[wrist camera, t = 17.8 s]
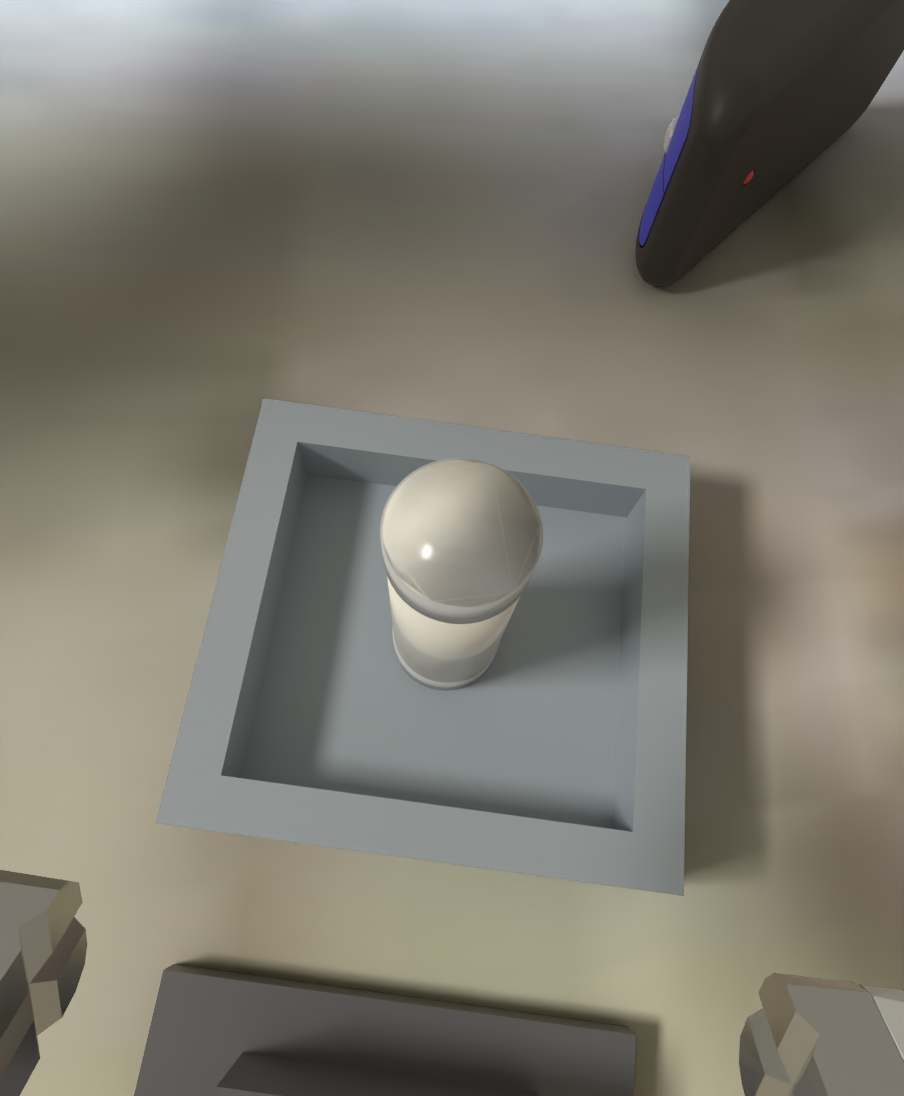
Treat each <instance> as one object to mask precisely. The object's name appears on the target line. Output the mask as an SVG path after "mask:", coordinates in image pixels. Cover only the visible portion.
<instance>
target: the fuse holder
mask: <svg viewBox="0 0 904 1096" xmlns="http://www.w3.org/2000/svg"><path fill="white" fill-rule="evenodd" d="M635 1046H636V1035H635V1034H634V1033H633V1032H632V1031H631V1030H630V1029H629V1028H628V1027H627V1026H620V1025H613V1024H605V1023H598V1022H591V1021H584V1020H576V1019H569V1018H562V1017H555V1016H547V1015H540V1014H533V1013H526V1012H518V1011H511V1010H504V1009H497V1008H489V1007H482V1006H475V1005H467V1004H460V1003H453V1002H446V1001H438V1000H431V999H424V998H417V997H409V996H402V995H395V994H388V993H380V992H373V991H366V990H359V989H351V988H344V987H337V986H330V985H322V984H315V983H308V982H301V981H293V980H286V979H279V978H272V977H264V976H257V975H250V974H242V973H235V972H228V971H221V970H213V969H206V968H199V967H192V966H184V965H177V964H173V965H171V966H170V967H168V968H166V969H164V971H163V975H162V979H161V983H160V988H159V992H158V996H157V1000H156V1005H155V1009H154V1013H153V1017H152V1022H151V1026H150V1030H149V1034H148V1039H147V1043H146V1047H145V1051H144V1056H143V1060H142V1064H141V1069H140V1073H139V1077H138V1081H137V1086H136V1090H135V1094H134V1096H634V1075H635Z"/></svg>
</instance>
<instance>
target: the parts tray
mask: <svg viewBox="0 0 904 1096" xmlns="http://www.w3.org/2000/svg"><path fill="white" fill-rule="evenodd" d="M449 458H471V459H477V460H482V461H485V462H488V463H491V464H493V465H496V466H498V467H500V468H502V469H504V470H505V471H507V472H508V473H510V474H511V475H513V476H514V477H515V478H516V479H518V480H519V481H520V482H521V483H522V484H523V485H524V486H525V488H526V489H527V490H528V492H529V493H530V494H531V496H532V498H533V499H534V501H535V503H536V505H537V507H538V510H539V512H540V516H541V520H542V525H543V546H542V552H541V555H540V558H539V561H538V563H537V566H536V568H535V570H534V572H533V574H532V576H531V579H530V581H529V583H528V585H527V587H526V589H525V590H524V592H523V593H522V595H521V596H520V598H519V600H518V602H517V604H516V607H515V609H514V611H513V613H512V616H511V618H510V620H509V622H508V624H507V627H506V629H505V631H504V633H503V636H502V638H501V640H500V644H499V647H498V650H497V653H496V655H495V657H494V659H493V661H492V663H491V665H490V667H489V668H488V670H487V671H486V672H485V673H484V674H483V676H481V677H480V678H479V679H478V680H477V681H475V682H474V683H472V684H470V685H468V686H466V687H463V688H461V689H456V690H449V691H443V690H435V689H431V688H428V687H425V686H423V685H421V684H419V683H418V682H416V681H415V680H413V679H412V678H411V677H410V676H409V675H408V674H407V673H406V672H405V671H404V670H403V668H402V667H401V665H400V663H399V661H398V659H397V657H396V654H395V650H394V644H393V635H392V627H393V623H392V614H391V606H390V597H389V588H388V580H387V574H386V571H385V568H384V562H383V556H382V548H381V540H380V526H381V518H382V514H383V510H384V508H385V505H386V503H387V501H388V499H389V497H390V495H391V494H392V492H393V491H394V489H395V488H396V487H397V486H398V484H399V483H400V482H401V481H402V480H403V479H404V478H405V477H407V476H408V475H409V474H411V473H412V472H413V471H415V470H417V469H419V468H420V467H422V466H424V465H427V464H429V463H432V462H435V461H439V460H443V459H449ZM689 517H690V456H686V455H679V454H671V453H664V452H657V451H649V450H642V449H634V448H627V447H620V446H612V445H605V444H598V443H590V442H583V441H576V440H568V439H561V438H553V437H546V436H539V435H531V434H524V433H517V432H509V431H502V430H495V429H487V428H480V427H472V426H465V425H458V424H450V423H443V422H436V421H428V420H421V419H413V418H406V417H399V416H391V415H384V414H377V413H369V412H362V411H355V410H347V409H340V408H332V407H325V406H318V405H310V404H303V403H296V402H288V401H281V400H274V399H266V398H263V402H262V405H261V409H260V413H259V417H258V421H257V425H256V429H255V433H254V437H253V441H252V445H251V449H250V453H249V457H248V461H247V465H246V468H245V472H244V476H243V480H242V484H241V488H240V492H239V496H238V500H237V504H236V508H235V512H234V516H233V520H232V524H231V528H230V531H229V535H228V539H227V543H226V547H225V551H224V555H223V559H222V563H221V567H220V571H219V575H218V579H217V583H216V587H215V591H214V595H213V598H212V602H211V606H210V610H209V614H208V618H207V622H206V626H205V630H204V634H203V638H202V642H201V646H200V650H199V654H198V658H197V661H196V665H195V669H194V673H193V677H192V681H191V685H190V689H189V693H188V697H187V701H186V705H185V709H184V713H183V717H182V721H181V725H180V728H179V732H178V736H177V740H176V744H175V748H174V752H173V756H172V760H171V764H170V768H169V772H168V776H167V780H166V784H165V788H164V791H163V795H162V799H161V803H160V807H159V811H158V815H157V819H156V823H157V824H164V825H171V826H178V827H186V828H193V829H200V830H208V831H215V832H222V833H229V834H237V835H244V836H251V837H259V838H266V839H273V840H280V841H288V842H295V843H302V844H310V845H317V846H324V847H331V848H339V849H346V850H353V851H361V852H368V853H375V854H382V855H390V856H397V857H404V858H412V859H419V860H426V861H433V862H441V863H448V864H455V865H463V866H470V867H477V868H484V869H492V870H499V871H506V872H514V873H521V874H528V875H535V876H543V877H550V878H557V879H565V880H572V881H579V882H586V883H594V884H601V885H608V886H616V887H623V888H630V889H637V890H645V891H652V892H659V893H667V894H674V895H681V896H684V847H685V781H686V715H687V649H688V583H689Z"/></svg>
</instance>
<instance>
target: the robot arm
mask: <svg viewBox="0 0 904 1096" xmlns="http://www.w3.org/2000/svg"><path fill="white" fill-rule="evenodd" d="M81 904H82V897H81V891H80V886H79V882H73V881H67V880H61V879H54V878H48V877H42V876H36V875H29V874H23V873H17V872H11V871H5V870H0V1096H19V1095H20V1094H21V1092H22V1090H23V1088H24V1086H25V1084H26V1083H27V1081H28V1079H29V1077H30V1075H31V1073H32V1072H33V1070H34V1068H35V1066H36V1064H37V1063H38V1061H39V1059H40V1054H39V1046H38V1038H37V1035H39V1034H40V1033H41V1032H43V1031H44V1030H45V1029H47V1028H48V1027H49V1026H51V1025H52V1024H54V1023H55V1022H56V1021H58V1020H59V1019H60V1018H62V1016H63V1014H64V1012H65V1011H66V1009H67V1007H68V1005H69V1003H70V1001H71V999H72V997H73V995H74V993H75V991H76V988H77V985H78V982H79V979H80V976H81V973H82V970H83V967H84V964H85V958H86V949H87V937H86V929H85V928H84V927H83V926H82V925H81V924H80V923H79V922H78V921H77V920H76V918H75V917H74V916H75V914H76V913H77V911H78V909H79V907H80V906H81ZM759 996H760V999H761V1002H762V1005H763V1009H761V1010H759V1011H758V1012H756V1013H754V1014H753V1015H751V1016H749V1017H747V1020H746V1023H745V1025H744V1028H743V1031H742V1033H741V1036H740V1051H739V1066H740V1073H741V1080H742V1085H743V1089H744V1093H745V1096H904V990H898V989H892V988H884V987H876V986H867V985H857V984H855V983H854V982H845V981H837V980H828V979H820V978H811V977H803V976H794V975H786V974H777V973H773V974H772V975H770V976H768V977H767V978H765V980H764V982H763V984H762V986H761V988H760V991H759Z"/></svg>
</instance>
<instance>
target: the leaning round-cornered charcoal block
mask: <svg viewBox="0 0 904 1096" xmlns="http://www.w3.org/2000/svg"><path fill="white" fill-rule="evenodd" d="M903 50H904V0H730V1H729V2H728V4H727V5H726V7H725V8H724V10H723V11H722V13H721V14H720V16H719V18H718V20H717V21H716V23H715V25H714V27H713V29H712V31H711V33H710V36H709V38H708V40H707V43H706V45H705V48H704V50H703V53H702V56H701V59H700V61H699V64H698V67H697V70H696V72H695V75H694V78H693V80H692V83H691V86H690V88H689V91H688V94H687V96H686V99H685V102H684V105H683V107H682V110H681V113H680V114H679V115H677V117H675V118H674V119H673V120H672V121H671V123H670V124H669V127H668V129H667V132H666V135H665V138H664V142H663V146H664V151H665V156H664V158H663V161H662V164H661V166H660V169H659V172H658V175H657V177H656V180H655V183H654V185H653V188H652V191H651V193H650V196H649V199H648V202H647V204H646V207H645V209H644V212H643V215H642V219H641V222H640V226H639V230H638V236H637V243H636V262H637V267H638V270H639V273H640V275H641V277H642V278H643V280H644V281H645V282H647V283H648V284H650V285H653V286H663V285H667V284H670V283H672V282H674V281H676V280H677V279H679V278H680V277H681V276H683V275H684V274H685V273H686V272H687V271H688V270H690V269H691V268H692V267H693V266H694V265H695V264H696V263H697V262H699V261H700V260H701V259H702V258H703V257H704V256H705V255H706V254H708V253H709V252H710V251H711V250H712V249H713V248H714V247H716V246H717V245H718V244H719V243H720V242H721V241H722V240H723V239H725V238H726V237H727V236H728V235H729V234H730V233H731V232H733V231H734V230H735V229H736V228H737V227H738V226H739V225H740V224H742V223H743V222H744V221H745V220H746V219H747V218H748V217H750V216H751V215H752V214H753V213H754V212H755V211H756V210H757V209H759V208H760V207H761V206H762V205H763V204H764V203H765V202H766V201H768V200H769V199H770V198H771V197H772V196H773V195H774V194H776V193H777V192H778V191H779V190H780V189H781V188H782V187H783V186H785V185H786V184H787V183H788V182H789V181H790V180H791V179H793V178H794V177H795V176H796V175H797V174H798V173H799V172H800V171H802V170H803V169H804V168H805V167H806V166H807V165H808V164H810V163H811V162H812V161H813V160H814V159H815V158H816V157H817V156H819V155H820V154H821V153H822V152H823V151H824V150H825V149H826V148H828V147H829V146H830V145H831V144H832V143H833V142H834V141H836V140H837V139H838V138H839V137H840V136H841V135H842V134H843V133H845V132H846V131H847V130H848V129H849V128H850V127H851V126H852V125H853V124H854V123H855V122H856V121H857V119H858V118H859V117H860V116H861V115H862V114H863V112H864V111H865V110H866V109H867V107H868V106H869V104H870V103H871V101H872V100H873V98H874V96H875V95H876V93H877V92H878V90H879V89H880V87H881V85H882V84H883V82H884V81H885V79H886V77H887V76H888V74H889V73H890V71H891V69H892V68H893V66H894V65H895V63H896V61H897V60H898V58H899V57H900V55H901V54H902V52H903Z"/></svg>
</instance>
